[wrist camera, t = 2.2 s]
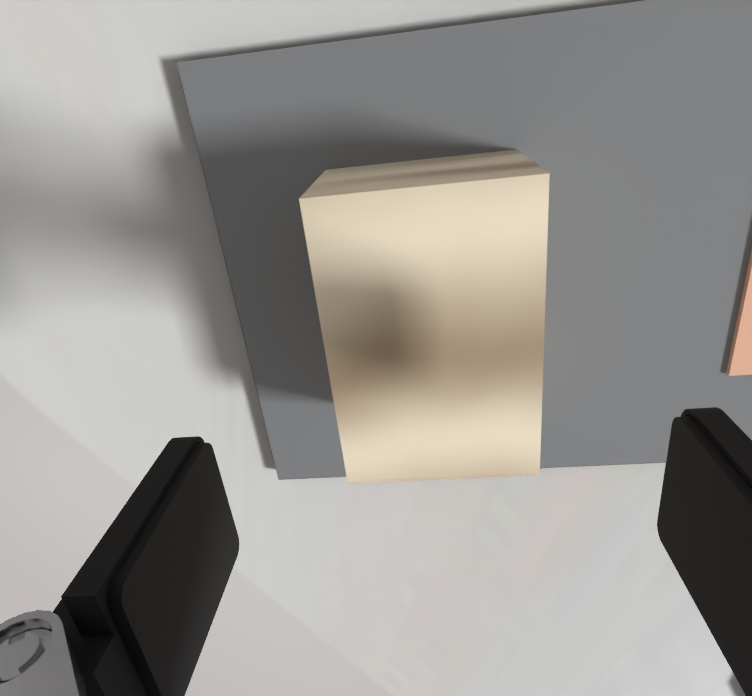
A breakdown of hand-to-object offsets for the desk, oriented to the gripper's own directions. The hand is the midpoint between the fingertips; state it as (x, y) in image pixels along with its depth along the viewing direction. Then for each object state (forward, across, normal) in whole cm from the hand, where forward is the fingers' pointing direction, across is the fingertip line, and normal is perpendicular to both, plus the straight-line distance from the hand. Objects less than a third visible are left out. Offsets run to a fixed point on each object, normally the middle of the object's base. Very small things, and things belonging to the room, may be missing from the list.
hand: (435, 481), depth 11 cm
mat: (+10, -8, -1) cm, 13 cm away
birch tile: (+9, 0, -1) cm, 9 cm away
